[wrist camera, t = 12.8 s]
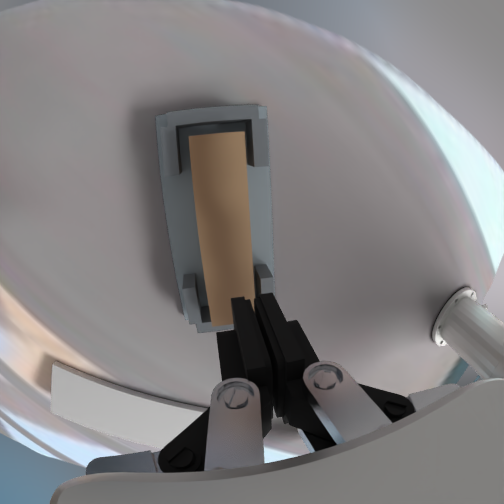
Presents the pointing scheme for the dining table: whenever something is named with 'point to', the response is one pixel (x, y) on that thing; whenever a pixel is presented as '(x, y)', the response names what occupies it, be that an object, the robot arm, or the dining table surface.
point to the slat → (223, 220)
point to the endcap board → (183, 205)
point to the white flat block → (117, 408)
